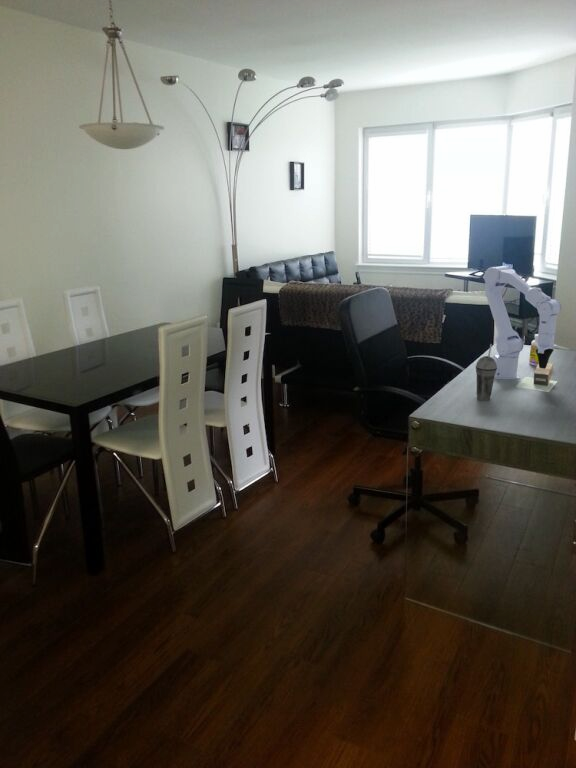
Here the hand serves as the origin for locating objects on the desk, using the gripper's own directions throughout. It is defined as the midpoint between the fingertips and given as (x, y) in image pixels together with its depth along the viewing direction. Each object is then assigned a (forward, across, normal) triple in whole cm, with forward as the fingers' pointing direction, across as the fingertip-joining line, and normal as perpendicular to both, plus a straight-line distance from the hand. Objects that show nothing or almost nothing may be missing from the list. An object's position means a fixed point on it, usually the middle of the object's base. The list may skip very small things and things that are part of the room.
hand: (542, 367), depth 231 cm
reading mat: (+7, 0, +2) cm, 7 cm away
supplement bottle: (+7, +31, +8) cm, 33 cm away
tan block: (+4, -1, 0) cm, 5 cm away
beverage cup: (+7, -27, +14) cm, 31 cm away
